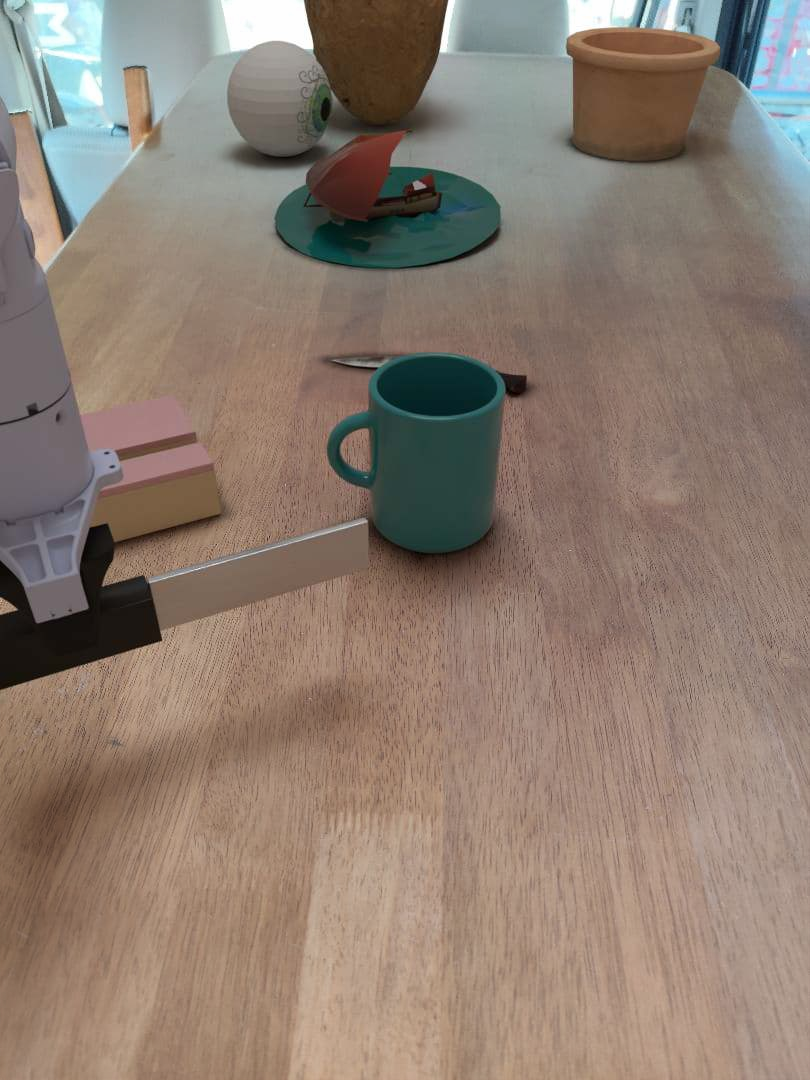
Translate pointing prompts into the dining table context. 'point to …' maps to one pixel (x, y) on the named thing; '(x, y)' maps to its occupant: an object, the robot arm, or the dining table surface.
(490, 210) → the sailing ship model
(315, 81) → the decorative object
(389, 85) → the brown rounded tapered piece
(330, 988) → the dining table surface
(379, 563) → the dining table surface
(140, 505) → the cake slice
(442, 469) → the cup
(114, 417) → the cake
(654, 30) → the pottery
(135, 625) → the cake knife
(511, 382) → the knife
